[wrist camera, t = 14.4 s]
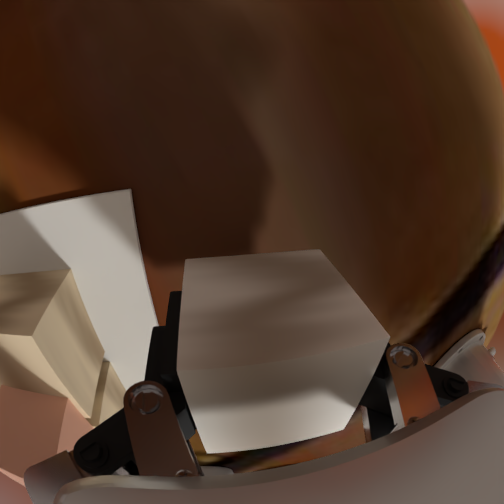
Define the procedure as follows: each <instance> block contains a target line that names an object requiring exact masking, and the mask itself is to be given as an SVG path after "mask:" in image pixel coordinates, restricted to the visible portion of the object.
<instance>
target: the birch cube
mask: <svg viewBox="0 0 504 504" xmlns="http://www.w3.org/2000/svg"><path fill="white" fill-rule="evenodd" d="M389 339H390V336H389V335H388V333H387V332H386V331H385V329H384V328H383V327H382V325H381V324H380V323H379V321H378V320H377V319H376V318H375V316H374V315H373V314H372V312H371V311H370V310H369V309H368V307H367V306H366V305H365V304H364V302H363V301H362V300H361V299H360V297H359V296H358V295H357V294H356V292H355V291H354V290H353V289H352V287H351V286H350V285H349V284H348V282H347V281H346V280H345V279H344V278H343V276H342V275H341V274H340V273H339V272H338V270H337V269H336V268H335V267H334V266H333V264H332V263H331V262H330V261H329V260H328V258H327V257H326V256H325V255H324V254H323V253H322V251H321V250H320V249H315V250H302V251H289V252H276V253H262V254H249V255H236V256H222V257H209V258H195V259H185V268H184V277H183V287H182V297H181V309H180V321H179V336H178V352H177V373H178V377H179V380H180V383H181V386H182V389H183V392H184V395H185V398H186V400H187V403H188V406H189V409H190V412H191V414H192V417H193V420H194V422H195V425H196V427H197V430H198V433H199V435H200V438H201V440H202V442H203V445H204V447H205V450H206V452H207V453H222V452H233V451H243V450H251V449H258V448H265V447H271V446H277V445H282V444H287V443H292V442H297V441H301V440H306V439H310V438H314V437H318V436H322V435H326V434H329V433H333V432H336V431H340V430H343V429H344V428H345V426H346V425H347V423H348V421H349V420H350V418H351V416H352V414H353V413H354V411H355V409H356V407H357V405H358V404H359V402H360V400H361V398H362V396H363V394H364V392H365V391H366V389H367V387H368V385H369V383H370V381H371V379H372V377H373V375H374V373H375V370H376V368H377V366H378V364H379V362H380V360H381V357H382V355H383V353H384V351H385V348H386V346H387V344H388V341H389Z"/></svg>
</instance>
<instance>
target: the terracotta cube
mask: <svg viewBox="0 0 504 504" xmlns="http://www.w3.org/2000/svg"><path fill="white" fill-rule="evenodd" d="M92 429H94V428H93V427H92V426H91V424H90V423H89V422H88V421H87V420H86V419H85V418H84V417H83V415H82V414H81V413H80V412H79V411H78V410H77V408H76V407H75V406H74V405H73V403H72V402H71V401H70V400H69V398H65V397H59V396H52V395H46V394H41V393H35V392H30V391H26V390H21V389H17V388H13V387H9V386H5V385H1V387H0V471H1V472H2V473H4V474H5V475H7V476H8V477H10V478H12V479H13V480H15V481H17V482H18V483H20V484H22V485H23V486H25V483H24V473H25V471H26V469H27V468H29V467H30V466H32V465H35V464H37V463H39V462H41V461H44V460H46V459H48V458H50V457H52V456H54V455H56V454H59V453H61V452H63V451H65V450H67V451H69V452H70V451H72V450H73V449H74V445H75V444H76V442H77V440H79V439H80V438H81V437H82V436H83V435H85V434H86V433H88V432H89V431H91V430H92ZM25 487H26V486H25Z"/></svg>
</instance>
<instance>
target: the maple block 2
mask: <svg viewBox="0 0 504 504" xmlns="http://www.w3.org/2000/svg"><path fill="white" fill-rule="evenodd" d="M125 392H126V389H125V388H124V386H123V384H122V383H121V381H120V379H119V377H118V375H117V374H116V372H115V370H114V368H113V366H112V364H111V362H102V365H101V369H100V374H99V378H98V383H97V388H96V393H95V398H94V403H93V409H92V415H91V418H85V419H86V420H87V421H88V422H89V423H90V424H91V426H92V427H93V428H95V427H97V426H98V425H100V424H101V423H102V422H104V421H105V420H107V419H108V418H110V417H111V416H112V415H114V414H115V413H117V412H118V411H119V410H121V409H122V408H124V404H123V397H124V395H125Z"/></svg>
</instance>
